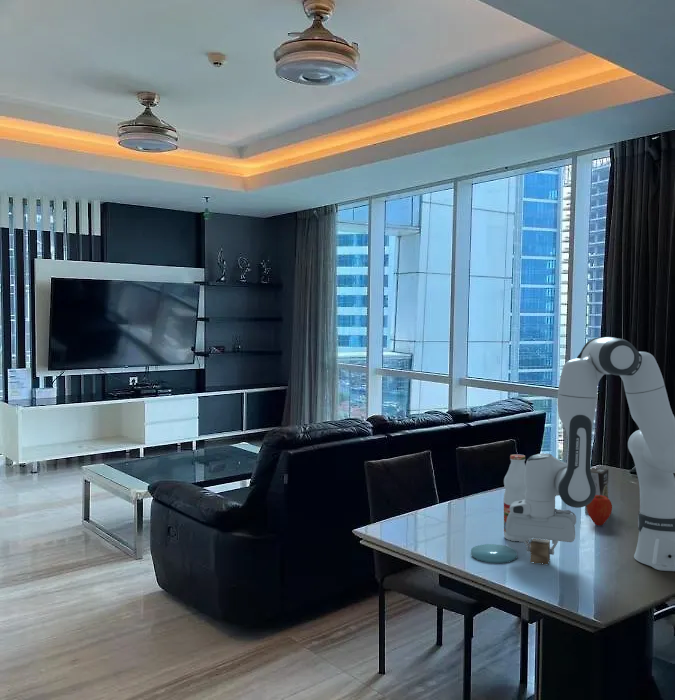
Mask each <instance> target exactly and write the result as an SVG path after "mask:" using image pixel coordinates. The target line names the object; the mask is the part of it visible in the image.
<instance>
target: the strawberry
mask: <svg viewBox="0 0 675 700" xmlns="http://www.w3.org/2000/svg"><path fill="white" fill-rule="evenodd" d="M612 510H613V505H612V501H611V500H610V499H609V497H608V498H607V497H606V496H602V495H595V497H594V499H593V500H592V502H591V503H590V504H588V505H587V512H588V514H587V515H588V516H589V518H590V519H591V521H592V522H593V523H594V525H596V526H597V525H598V526H597V527H599V526H603V525H604V524H606V522H607V520H608V519H609V518H610V516H611V515H612Z"/></svg>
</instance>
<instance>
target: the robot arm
mask: <svg viewBox="0 0 675 700" xmlns="http://www.w3.org/2000/svg"><path fill="white" fill-rule="evenodd" d="M604 375H612V376H613V375H614V376H619V377H620V378H621V380H622V383H623V388H624V392H625V397H626V400H627V404H628V408H629V409H628V410H629V413H630V415H631V416H630V417H631V419H633V421H634V422H635V424H636V426H637V427H638V430H635V431H634V432H633V433H632V434H631V435H630V436H629V438H628V441H627V449H628V451H629V453H630V454H631V457H632V459H633V462H634V467H635V471H636V476H637V480H638V486H639V487H638V488H639V511H638V514H637V528H638V531H639V532H638V537H637V544H636V548H635V552H634V554H633V558H634V559H635V561H637V562H639V563H641V564H644V565H646V566H648V567H652V568H653V569H655V570H656V571H657V570H658V571H665V572H675V475H674V474H675V415H674V414H673V411H672V408H671V405H670V401H669V397H668V392H667V389H666V384H665V380H664V378H663V375H662V372H661V369H660V367H659V364H658V363H657V360H656V358H655V357H654V355H653V354H651V353H650V352H647V351H638V350H637V348H636V347H635V346H634V345H633V344H632V343H631V342H630V341H628V340H626V339H623V338H619V337H618V338H617V337H612V336H603V337H600V336H599V337H595V338H592V339H590V340H588V341H587V342H586V343H585V344H584V345H583V346H582V348H581V351H580V353H579V354H578V355H577V357H576V358H572V359H570V360H567V361H566V362H565V363H564V365H563V367H562V370H561V374H560V377H559V384H558V390H557V401H556V402H557V411H558V412H557V413H558V417H559V420H560V421H561V423H562V426H563V427H564V430H565V432H566V437H567V461H566V462H564V461H562V460H560V459H559V458H556V457H555V456H553V455H552V454H551V453H545V452H544V453H537V454H533V455H531V456H529V457H528V458H526V459H527V460H526V463H525V486H526V493H525V499H524V500H520V501H515V502H513V503H512V504H511V505H510V513H509V515H508V517H507V521H506V533H507V534H508V535H510V536H519V537H523V542H522V543H524V545H525V546H526V547H525V548H526V552H527V553H530V543H529V541H527V540H528V538H532V539H533V538H535V539H543V540H550V541H551V543H552V544H553V545H552V546H550V547H549V548H548V551H549V552H548V554H550V556H551V555H552V556H553V555H554V554H555V548H556V547H557V545H558V543H559V542H564V543H565V542H566V543H574V542H575V540H576V527H575V526H576V524H577V516H576V514H575V513H574V512H573V511H571V510H570V509H568V510H567V509H560V508H559V509H558V508H556V497H557V496H559V497H560V499H561V501H562V502H563V503H564V504H565V505H566V506H568V507H571V508H575V509H576V508H578V509H580V508H585V506H587V505H588V504H590V503H591V502H592V500H593V499H594V497H595V494H596V487H595V484H594V481H593V478H592V475H591V468H592V466H591V465H592V464H591V463H592V462H591V461H592V435H593V427H594V420H595V415H596V407H597V400H598V399H597V398H598V386H599V382H600V380H601V379H602V378H603V376H604Z"/></svg>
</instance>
